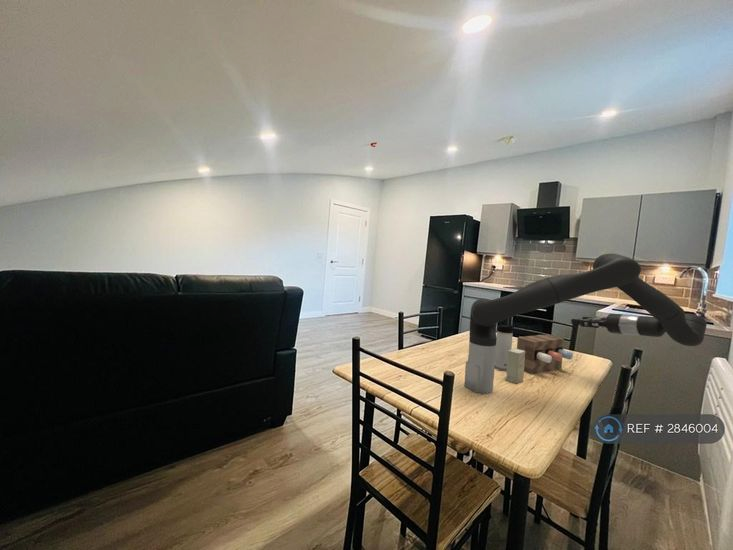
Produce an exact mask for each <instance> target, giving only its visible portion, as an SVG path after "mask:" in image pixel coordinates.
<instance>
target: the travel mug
mask: <svg viewBox="0 0 733 550" xmlns="http://www.w3.org/2000/svg"><path fill="white" fill-rule="evenodd" d="M513 328H515V325H514V324H499V325H497V326H496V337H497V340H496V353H495V368H494V369H496V370H499V371H503V372H507V362H508V351H509V350H511V349H513V347H512V345H513V335H514V332H513Z"/></svg>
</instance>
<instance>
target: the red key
mask: <svg viewBox="0 0 733 550" xmlns="http://www.w3.org/2000/svg"><path fill="white" fill-rule="evenodd" d="M547 355H550V356H552V359H554V360H557V361H561V360H562V361H563V356H562V354H560V353H556V352H553V351H549V352H548V354H547Z"/></svg>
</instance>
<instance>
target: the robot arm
mask: <svg viewBox="0 0 733 550" xmlns="http://www.w3.org/2000/svg"><path fill="white" fill-rule="evenodd" d="M641 271H642V268H641V265H640V264H639V262H637V261H636V260H634V259H633V258H630V257H628V256H625V255H621V254H618V253H603V254H601V255H598V256H597V257H596V258H595V259H594V261H593V263H592V269H590V270H587V271H583V272H578V273H568V274H566V273H565V274H560V275H553V276H547V277H546V278H542V279H539V280H536V281H533V282H531V283H529V284H527V285H524V286H523V287H521V288H519V289H518V290H516V291H514V292H511V293H510V294H508V295H504V296H501V297H498V298H493V299H488V298H479V299H476V300H475V301H474V302H473V304H472V305H471V307H470V315H469V317H470V318H469V340H468V341H469V342H468V352H467V353H468V355H467V361H465V370H464V384H463V386H464V387H465V388H466V389H468V390H470V391H471V392H473V393H475V394H483V395H484V394H486V395H487V394H491V393H493V392H494V382H495V381H494V379H495V369H496V368H495V353H496V340H497V324H498V323H501V322H503V321H505V320H507V319H510V318H512V317H515V316H518V315H521V314H525V313H530V312H534V311H536V310H540V309H545V308H549V307H552V306H554V305H558V304H560V303H563V302H566V301H569V300H570V301H571V300H573V299H576V298H580V297H583V296H585V295H589V294H592V293H595V292H600V291H604V290H608V289H614V288H617V289H619V290H620V291H621V292H623V293H624V294H625V295H627V296H629V298H631V299H632V300H633V301H634V302H635V303H636V304H637V305H639V306H640V307H641V308H642V309H644V310H645V311H646V312H647V313H648V314H650V315H651V316H648V315H647V316H646V315H636V314H626V313H625V314H622V313H609V314H608V315H607V316H606V317H605V316H593V317H592V316H591V317H590V316H582V317H581V319H580V318H572V319H571V320H570V322H571V323H570V324H571V325H576V326H577V325H578V326H580V327H582V328H584V327H585V328H595V329H604V328H606V330H607V332H608V333H611V334H619V335H627V336H645V337H653V338H660V337H662V336H663V335H665V333H666V334H667V335H668V336H669V338H671V339H672V340H673V341H674V342H676V343H677V344H680V345H682V346H687V347H695V346H699V345H701V344H702V343H703V341H704V337H705V334H706V330H707V321H706V319H705V318H704V317H702V316H700V315H698V314H694V313H693V314H692V313H689V312H688V313H686V312H685V309H683V307H681V306H680V305H679V304H678V303H677V302H675V301H674V300H673V299H672V298H670V297H669V296H668V295H666V294H665V293H663V292H662V291H660V290H658V289H657V288H656V287H653V286H652V285H651V284H650V283H647V282H646V281H644V280H643V279H641V278H640V274H641Z"/></svg>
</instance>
